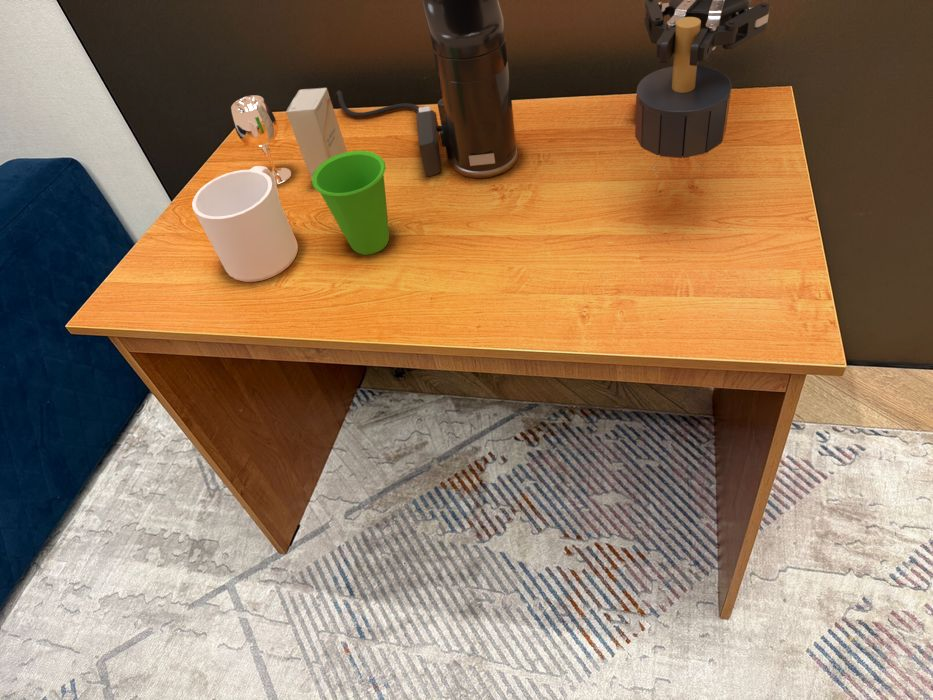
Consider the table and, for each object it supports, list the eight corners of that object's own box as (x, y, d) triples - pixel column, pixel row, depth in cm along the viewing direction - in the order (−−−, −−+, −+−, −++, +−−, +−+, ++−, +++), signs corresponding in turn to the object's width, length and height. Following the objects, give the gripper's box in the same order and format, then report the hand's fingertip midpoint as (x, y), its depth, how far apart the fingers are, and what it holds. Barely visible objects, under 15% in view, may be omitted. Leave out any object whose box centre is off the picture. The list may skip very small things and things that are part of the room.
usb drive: (418, 145, 96) (438, 141, 96) (415, 102, 104) (433, 99, 104) (425, 177, 100) (444, 174, 100) (421, 133, 108) (439, 130, 108)
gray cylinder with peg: (626, 153, 78) (627, 43, 69) (646, 107, 84) (650, 0, 74) (716, 162, 74) (731, 46, 65) (732, 113, 80) (747, 0, 71)
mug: (277, 286, 88) (247, 222, 81) (211, 278, 91) (176, 216, 83) (319, 224, 96) (294, 159, 88) (256, 219, 99) (228, 156, 91)
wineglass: (251, 185, 105) (218, 113, 96) (271, 164, 108) (242, 92, 99) (282, 190, 103) (252, 116, 94) (302, 167, 106) (275, 94, 97)
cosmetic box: (340, 186, 101) (315, 110, 92) (312, 187, 102) (284, 112, 93) (351, 161, 105) (328, 86, 96) (324, 163, 106) (298, 88, 97)
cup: (414, 224, 93) (396, 152, 85) (387, 269, 87) (366, 197, 79) (354, 217, 96) (331, 147, 87) (325, 261, 90) (298, 191, 82)
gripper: (665, -55, 79) (611, 13, 70) (795, -53, 73) (756, 22, 64) (661, 12, 84) (611, 84, 75) (783, 19, 79) (745, 97, 69)
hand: (678, 55), depth 70 cm, fingers closed on gray cylinder with peg, 2 cm apart
